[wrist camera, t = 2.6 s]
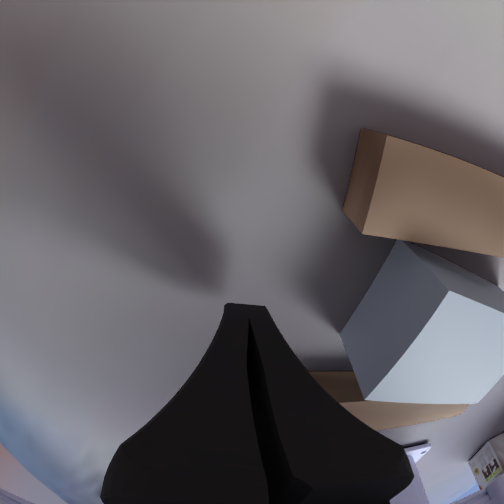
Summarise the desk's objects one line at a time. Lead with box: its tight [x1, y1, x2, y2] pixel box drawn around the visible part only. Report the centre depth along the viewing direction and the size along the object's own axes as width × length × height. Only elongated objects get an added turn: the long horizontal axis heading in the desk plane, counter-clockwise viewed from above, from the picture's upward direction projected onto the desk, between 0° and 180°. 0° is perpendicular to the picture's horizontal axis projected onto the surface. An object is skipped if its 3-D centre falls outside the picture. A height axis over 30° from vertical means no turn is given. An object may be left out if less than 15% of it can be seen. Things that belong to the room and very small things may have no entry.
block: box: [340, 239, 504, 404], centre depth 12 cm, size 5×8×4 cm, turn 69°
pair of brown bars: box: [308, 128, 504, 431], centre depth 12 cm, size 14×12×2 cm
